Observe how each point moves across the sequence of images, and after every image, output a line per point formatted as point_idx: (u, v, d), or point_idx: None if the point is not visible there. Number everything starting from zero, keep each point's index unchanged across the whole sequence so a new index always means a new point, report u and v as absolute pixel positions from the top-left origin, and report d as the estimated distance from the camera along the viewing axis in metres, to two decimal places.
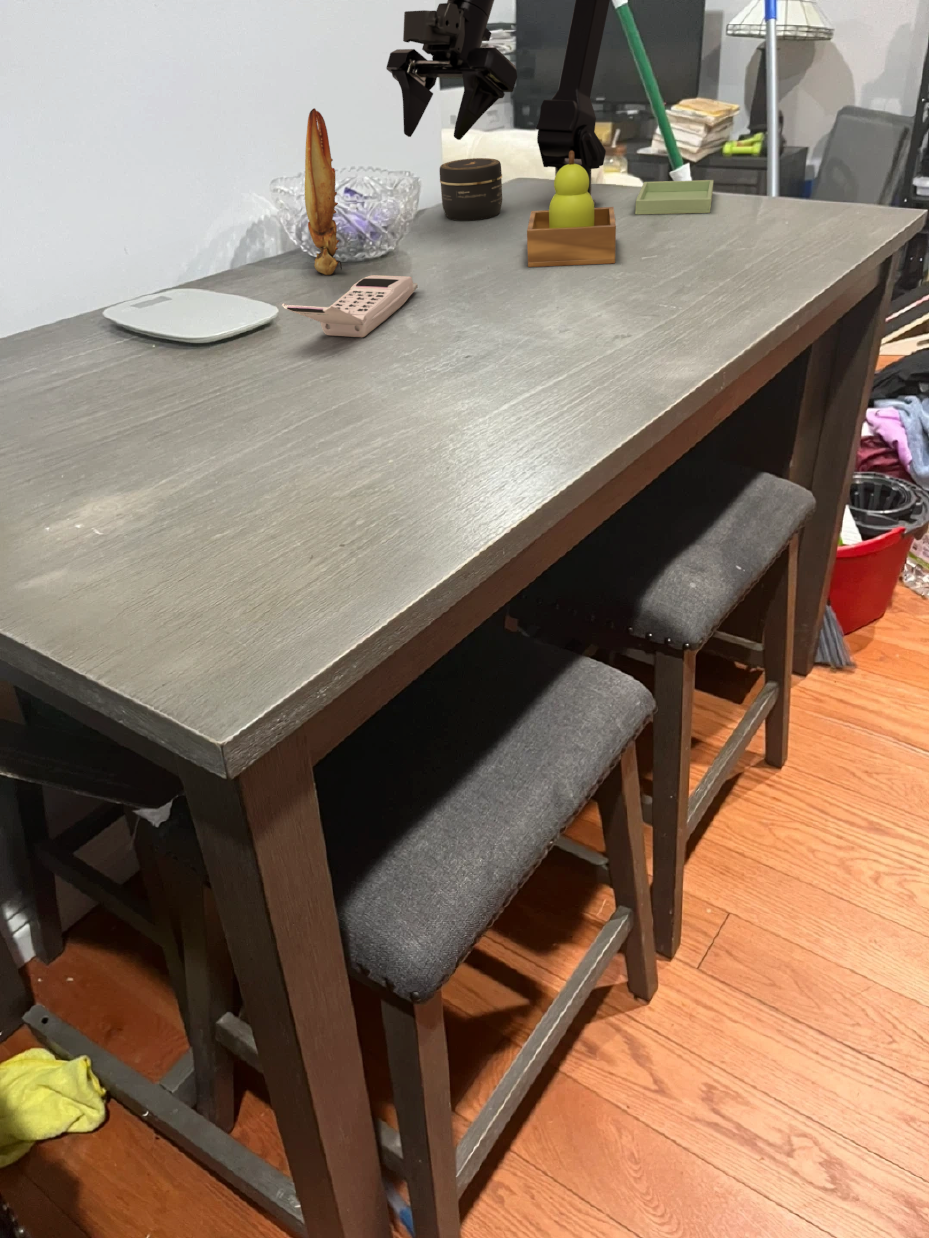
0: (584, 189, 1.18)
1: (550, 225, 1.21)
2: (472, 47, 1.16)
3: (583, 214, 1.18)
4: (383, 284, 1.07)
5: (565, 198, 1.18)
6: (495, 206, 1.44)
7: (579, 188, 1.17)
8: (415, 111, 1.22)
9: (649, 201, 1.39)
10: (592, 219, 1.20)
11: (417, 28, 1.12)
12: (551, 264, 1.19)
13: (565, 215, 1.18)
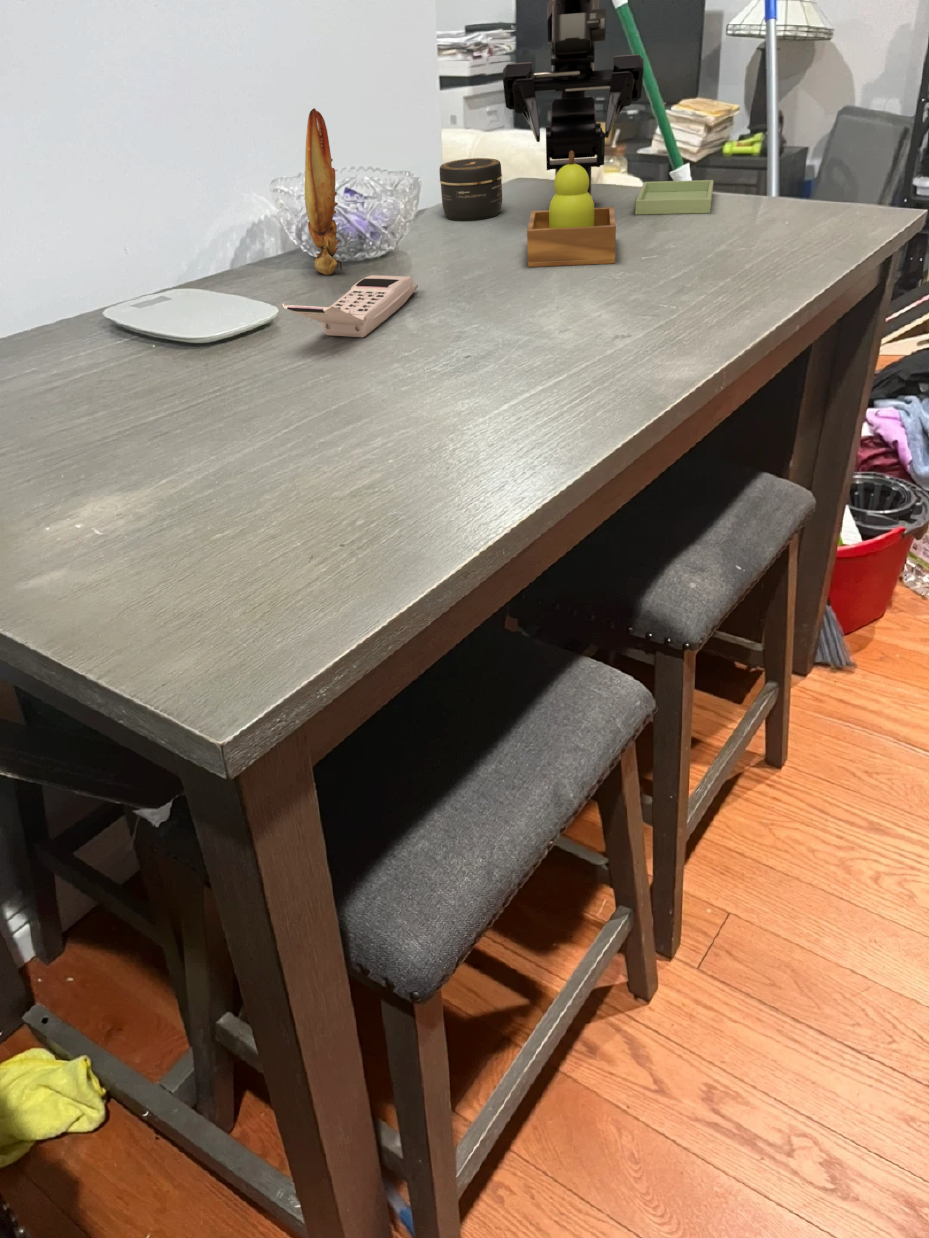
0: (584, 189, 1.18)
1: (550, 225, 1.21)
2: None
3: (583, 214, 1.18)
4: (383, 284, 1.07)
5: (565, 198, 1.18)
6: (495, 206, 1.44)
7: (579, 188, 1.17)
8: None
9: (649, 201, 1.39)
10: (592, 219, 1.20)
11: (577, 29, 1.16)
12: (551, 264, 1.19)
13: (565, 215, 1.18)
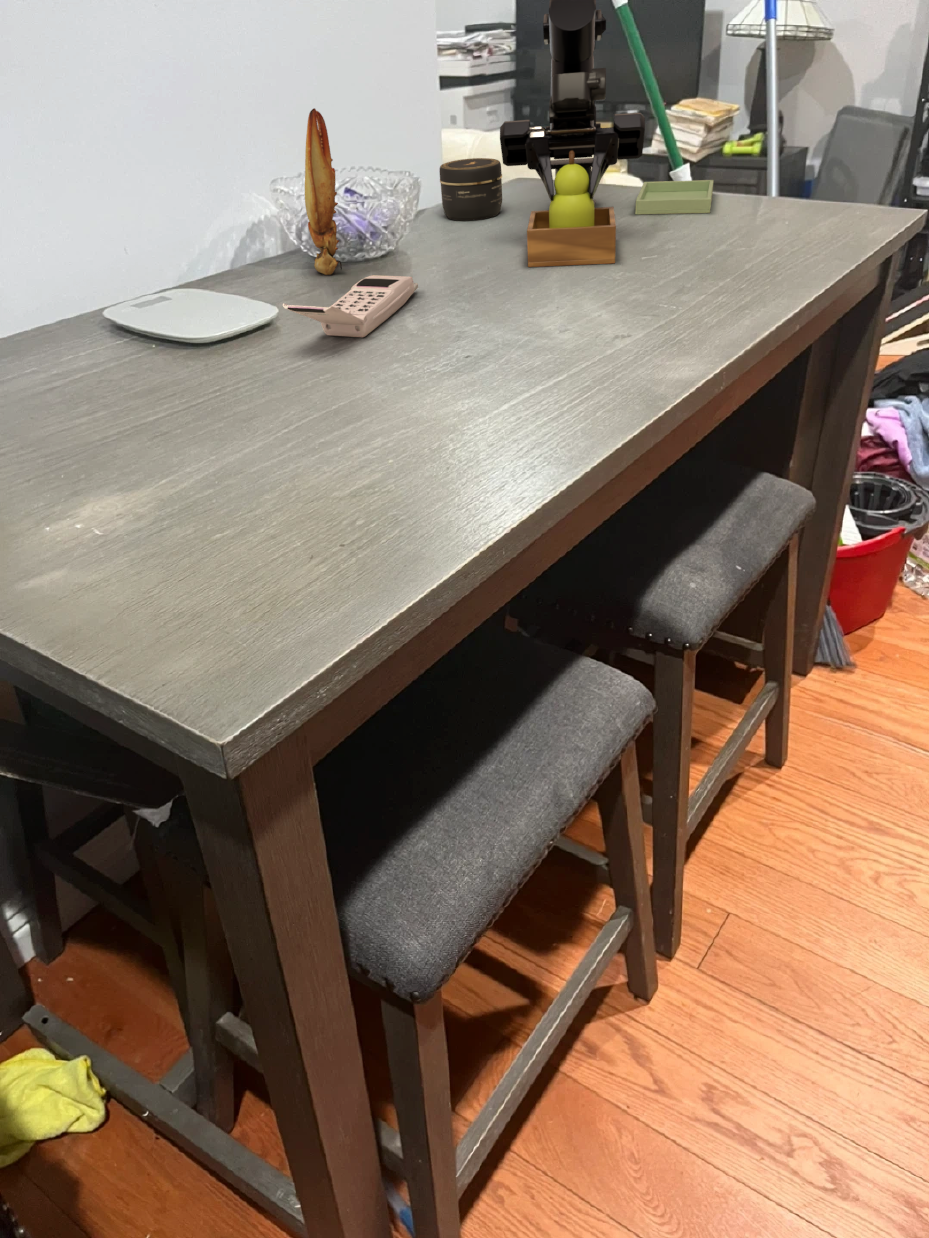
0: (584, 189, 1.18)
1: (550, 225, 1.21)
2: None
3: (583, 214, 1.18)
4: (383, 284, 1.07)
5: (565, 198, 1.18)
6: (495, 206, 1.44)
7: (579, 188, 1.17)
8: None
9: (649, 201, 1.39)
10: (592, 219, 1.20)
11: (576, 88, 1.12)
12: (551, 264, 1.19)
13: (565, 215, 1.18)
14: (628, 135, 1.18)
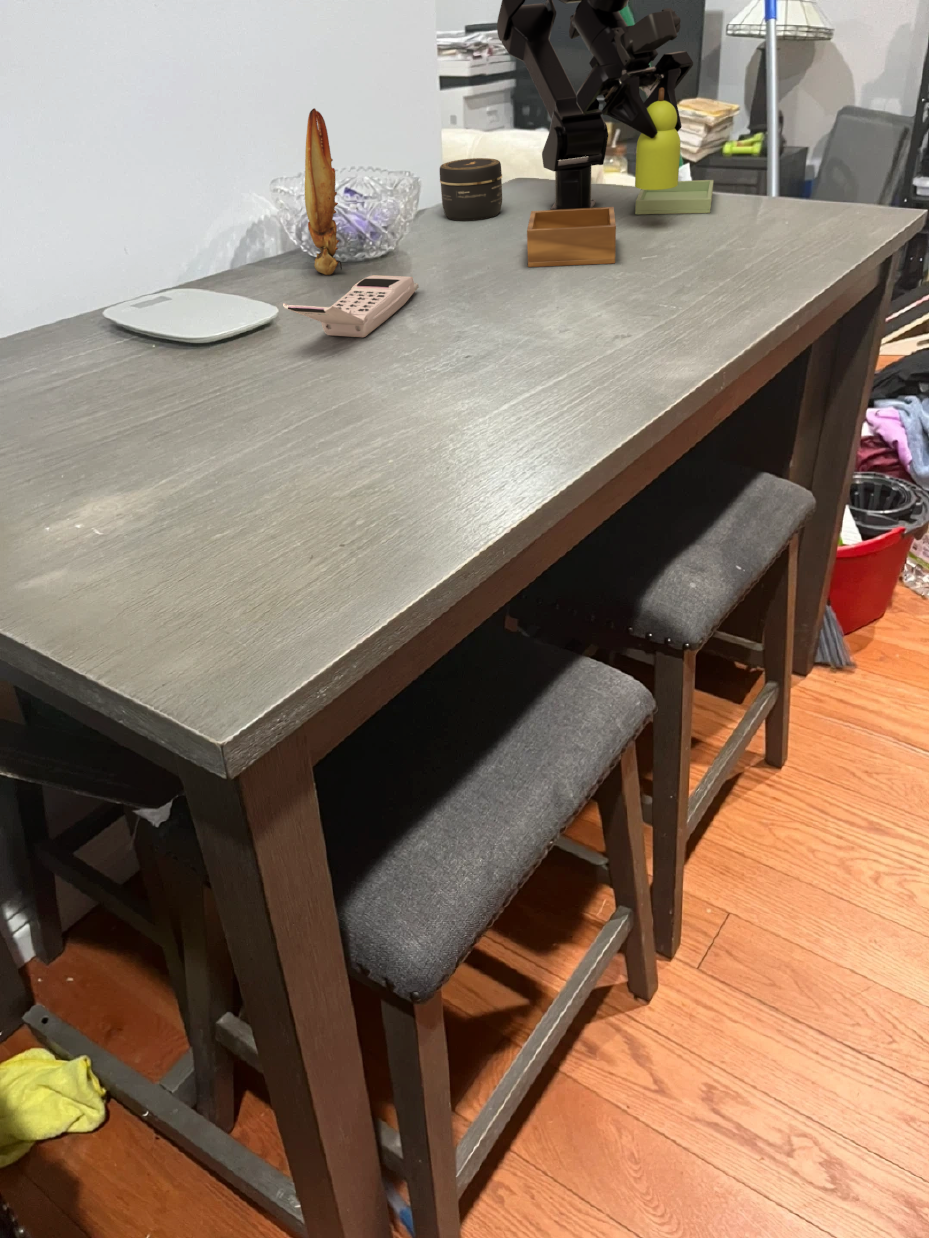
0: (675, 123, 1.25)
1: (650, 163, 1.25)
2: None
3: None
4: (384, 284, 1.06)
5: (668, 133, 1.23)
6: (495, 206, 1.44)
7: (676, 122, 1.24)
8: None
9: (649, 201, 1.39)
10: None
11: (669, 26, 1.18)
12: (551, 264, 1.19)
13: (671, 149, 1.24)
14: None
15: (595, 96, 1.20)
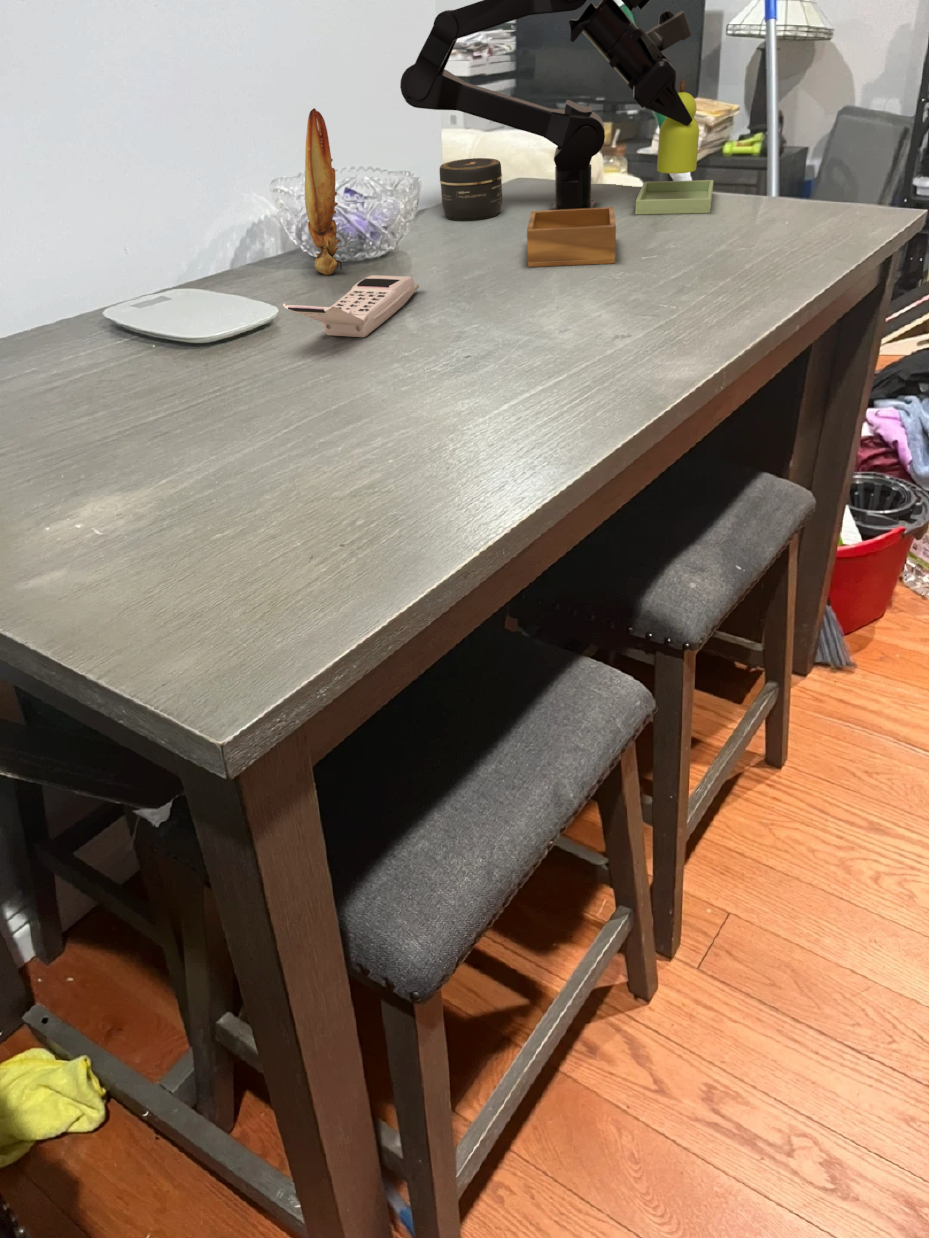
0: None
1: (686, 148, 1.37)
2: None
3: None
4: (384, 284, 1.06)
5: (694, 120, 1.37)
6: (495, 206, 1.44)
7: None
8: None
9: (649, 201, 1.39)
10: None
11: None
12: (551, 264, 1.19)
13: (698, 134, 1.38)
14: None
15: (659, 89, 1.28)
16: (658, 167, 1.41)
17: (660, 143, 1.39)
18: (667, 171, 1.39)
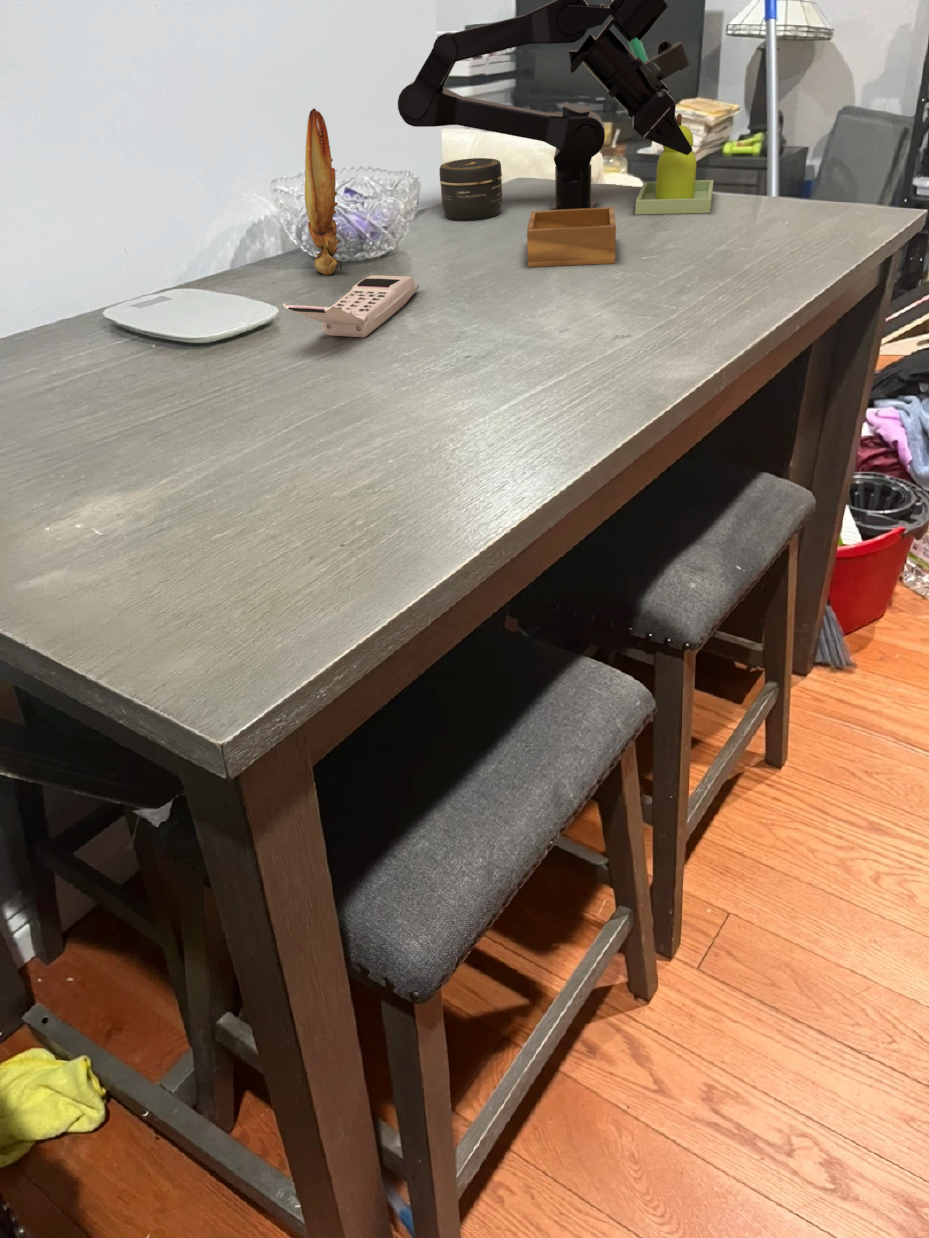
0: None
1: (683, 179, 1.40)
2: None
3: None
4: (384, 284, 1.06)
5: (691, 152, 1.39)
6: (495, 206, 1.44)
7: None
8: None
9: (649, 201, 1.39)
10: None
11: None
12: (551, 264, 1.19)
13: (695, 165, 1.40)
14: None
15: (658, 119, 1.30)
16: (656, 198, 1.43)
17: (658, 175, 1.41)
18: None
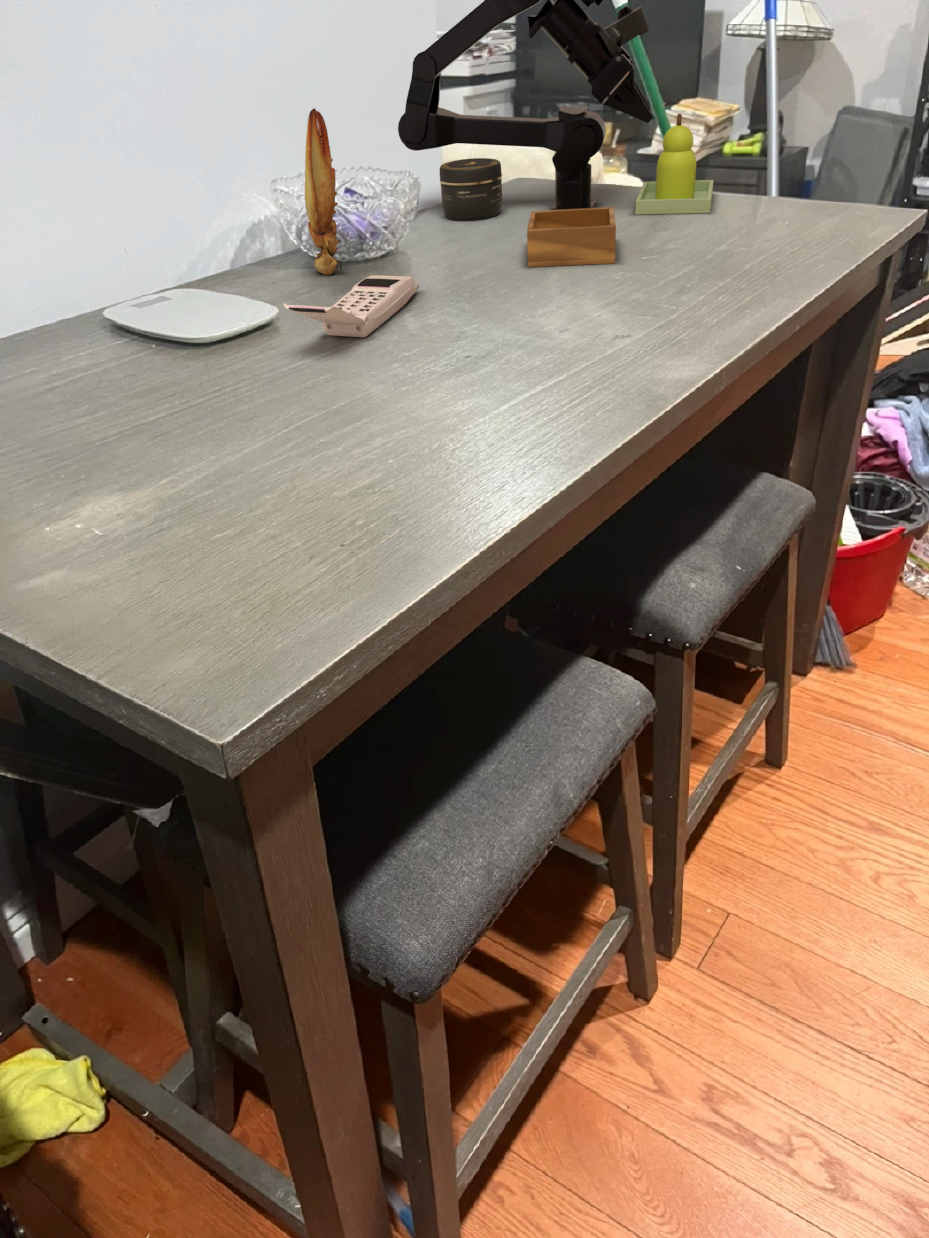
0: None
1: (683, 179, 1.40)
2: None
3: None
4: (385, 284, 1.06)
5: (691, 152, 1.39)
6: (495, 206, 1.44)
7: None
8: None
9: (649, 201, 1.39)
10: None
11: None
12: (551, 264, 1.19)
13: (695, 165, 1.40)
14: None
15: (616, 84, 1.28)
16: (656, 198, 1.43)
17: (658, 175, 1.41)
18: None
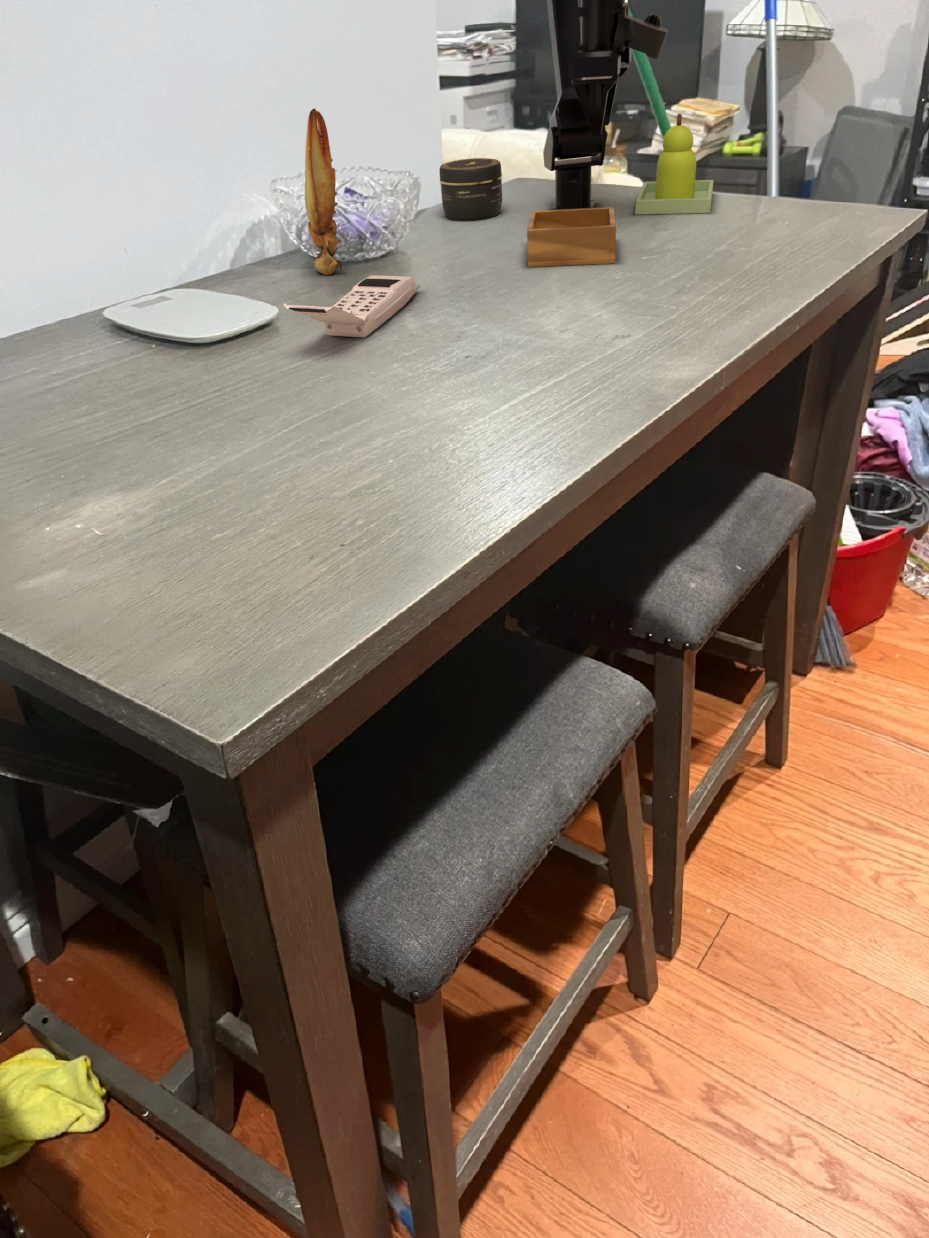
0: None
1: (683, 179, 1.40)
2: None
3: None
4: (385, 284, 1.06)
5: (691, 152, 1.39)
6: (495, 206, 1.44)
7: None
8: None
9: (649, 201, 1.39)
10: None
11: (662, 47, 1.20)
12: (551, 264, 1.19)
13: (695, 165, 1.40)
14: None
15: (594, 76, 1.15)
16: (656, 198, 1.43)
17: (658, 175, 1.41)
18: None
